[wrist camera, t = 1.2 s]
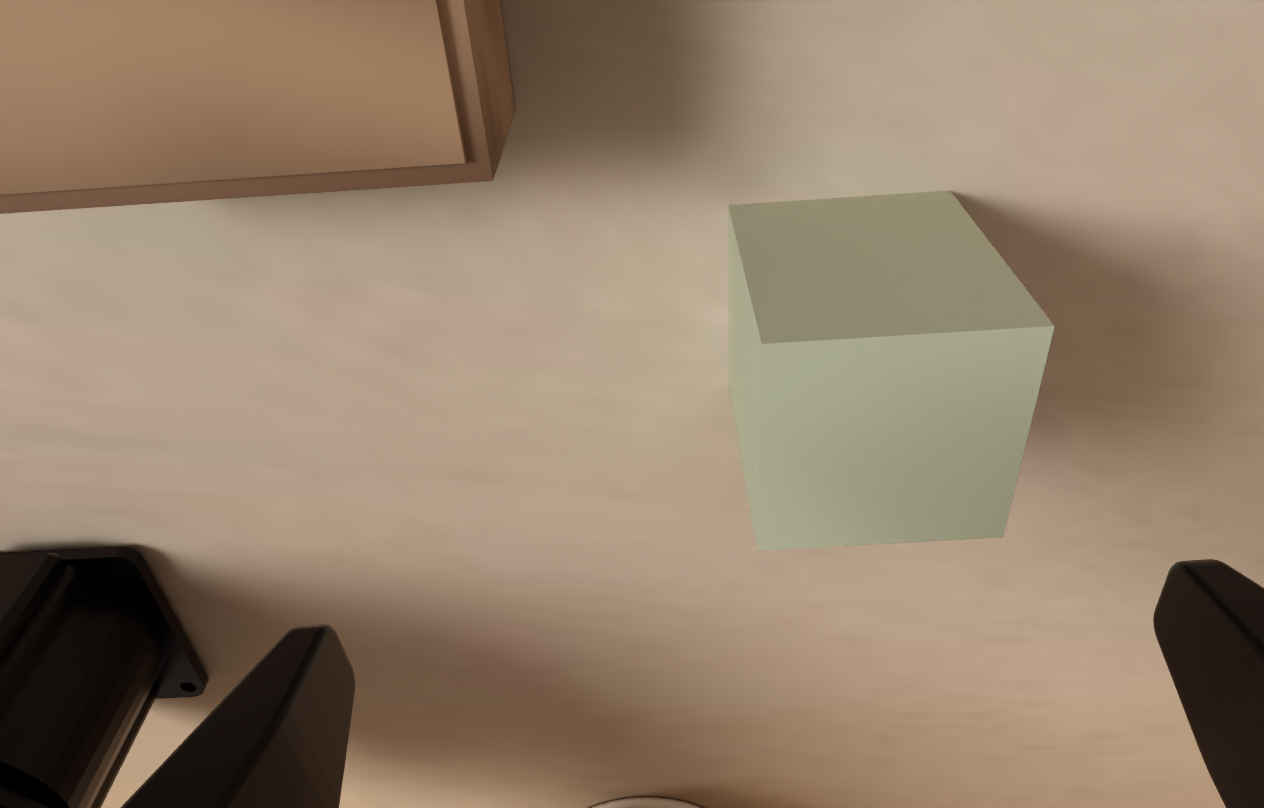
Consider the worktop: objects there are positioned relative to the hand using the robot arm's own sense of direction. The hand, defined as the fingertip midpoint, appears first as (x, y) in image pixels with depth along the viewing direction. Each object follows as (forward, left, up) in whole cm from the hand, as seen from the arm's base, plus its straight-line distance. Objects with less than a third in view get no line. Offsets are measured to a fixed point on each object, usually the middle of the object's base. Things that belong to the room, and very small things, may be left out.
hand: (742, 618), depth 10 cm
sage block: (-3, -4, -13) cm, 13 cm away
